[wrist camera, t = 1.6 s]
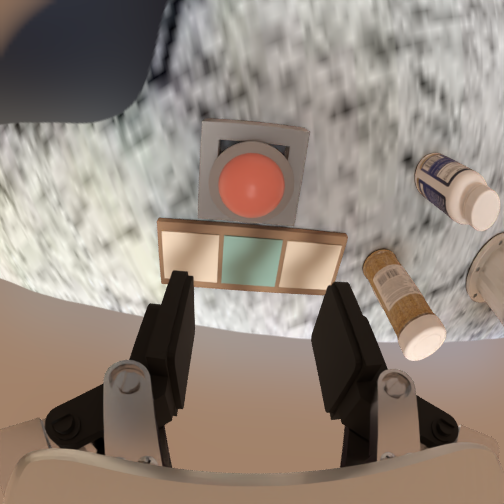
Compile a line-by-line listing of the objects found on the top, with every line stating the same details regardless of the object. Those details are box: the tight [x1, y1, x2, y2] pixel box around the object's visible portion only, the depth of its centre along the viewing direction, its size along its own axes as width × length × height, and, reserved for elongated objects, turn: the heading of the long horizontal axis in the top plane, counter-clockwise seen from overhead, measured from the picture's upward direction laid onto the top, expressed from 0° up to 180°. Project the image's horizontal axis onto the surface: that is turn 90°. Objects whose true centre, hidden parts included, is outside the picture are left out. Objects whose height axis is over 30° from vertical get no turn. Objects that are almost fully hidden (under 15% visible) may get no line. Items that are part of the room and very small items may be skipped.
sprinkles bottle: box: [363, 249, 446, 361], centre depth 28 cm, size 5×5×13 cm
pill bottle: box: [415, 153, 500, 231], centre depth 23 cm, size 5×5×10 cm
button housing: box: [198, 118, 310, 226], centre depth 26 cm, size 9×9×3 cm
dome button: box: [209, 141, 294, 223], centre depth 23 cm, size 7×7×6 cm
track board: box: [157, 218, 348, 295], centre depth 32 cm, size 20×8×1 cm, turn 84°
